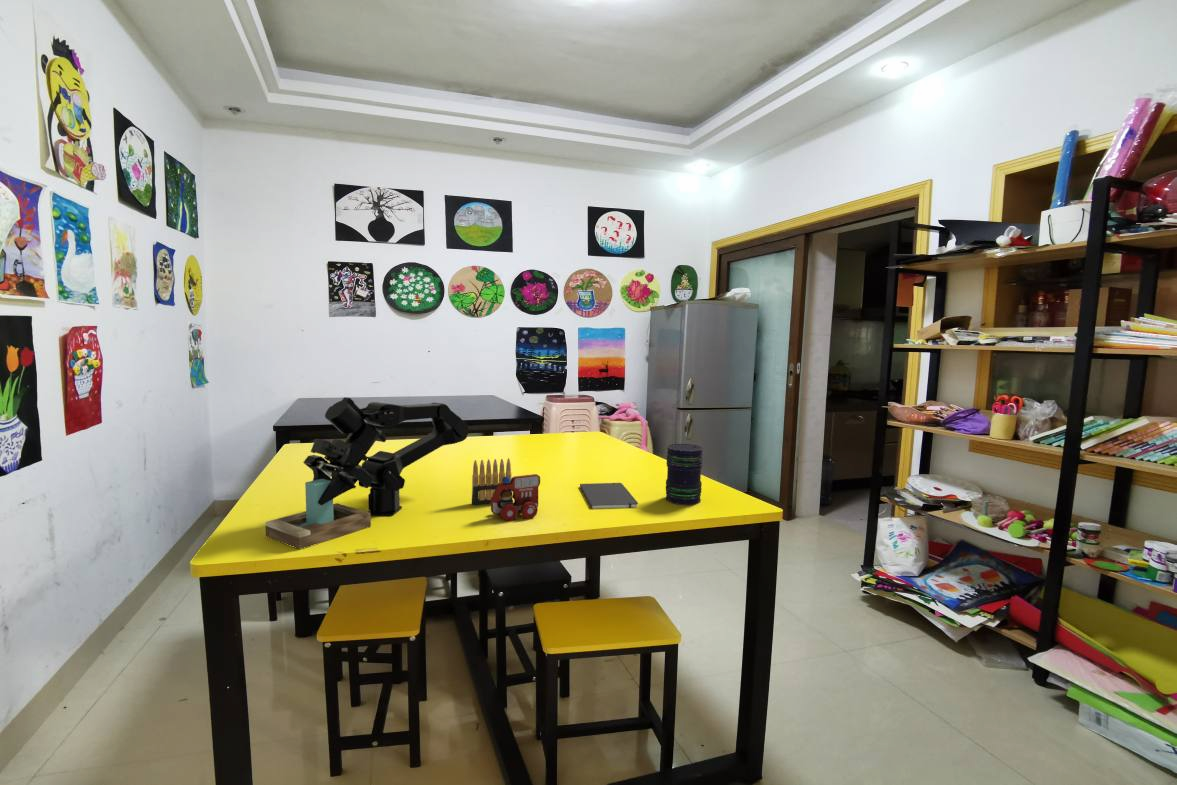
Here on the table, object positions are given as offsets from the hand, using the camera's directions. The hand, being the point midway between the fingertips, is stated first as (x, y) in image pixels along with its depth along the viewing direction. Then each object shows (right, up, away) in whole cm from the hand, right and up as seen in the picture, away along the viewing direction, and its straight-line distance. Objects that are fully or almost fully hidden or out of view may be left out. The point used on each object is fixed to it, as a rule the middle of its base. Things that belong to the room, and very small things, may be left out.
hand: (313, 502), depth 123 cm
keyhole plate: (0, -7, +2) cm, 7 cm away
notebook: (+66, -6, +34) cm, 75 cm away
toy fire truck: (+43, -7, +15) cm, 46 cm away
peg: (+1, -6, +2) cm, 7 cm away
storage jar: (+87, -6, +32) cm, 93 cm away
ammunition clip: (+35, -5, +26) cm, 44 cm away
